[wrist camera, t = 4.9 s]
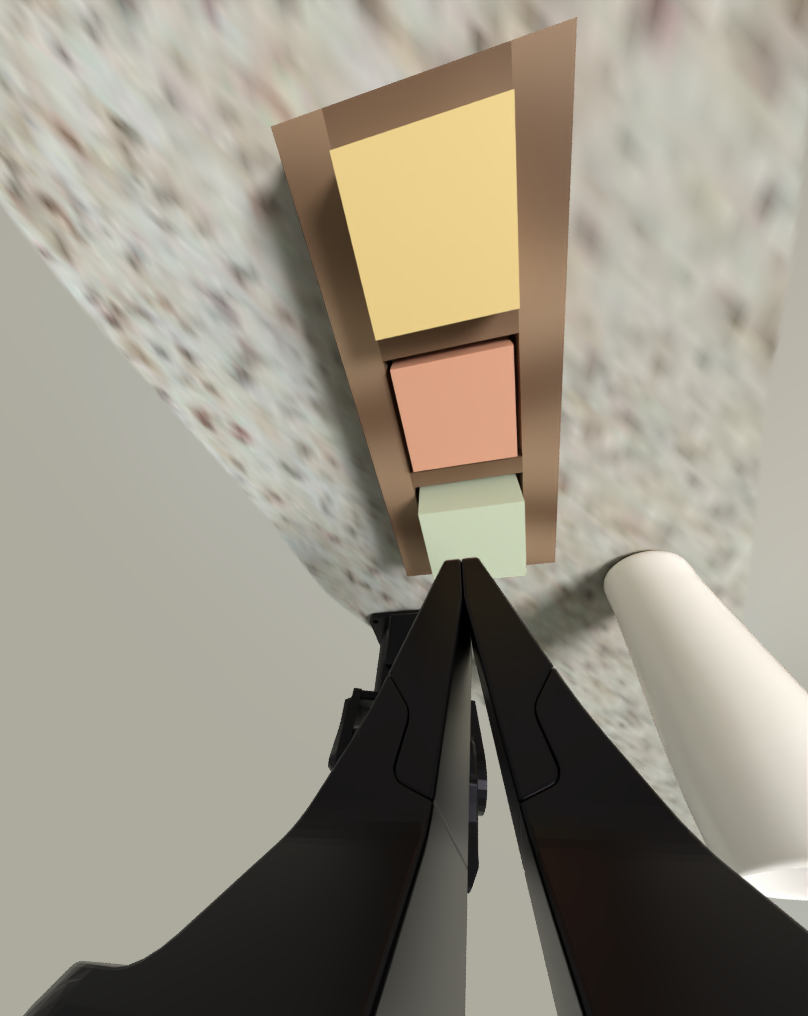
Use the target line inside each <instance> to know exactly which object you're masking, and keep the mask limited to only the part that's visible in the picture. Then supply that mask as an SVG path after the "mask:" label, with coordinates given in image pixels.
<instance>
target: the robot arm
mask: <svg viewBox="0 0 808 1016" xmlns="http://www.w3.org/2000/svg"><path fill="white" fill-rule="evenodd" d="M370 624H371V626H372V628H373V630H374V633H375V635H376V637H377V639H378V642H379V644H380V653H379V660H378V668H377V675H376V683H375V689H374V691H364V690H362V689H359V688H354V691H353V695H352V697H351V698H348V699H346V700H345V703H344V708H343V713H342V718H341V722H340V726H339V730H338V733H337V736H336V739H335V741H334V745H333V748H332V751H331V754H330V757H329V762H328V767H329V769H330V771H331V773H330V774H329V776H328V777H327V779H326V781H325V782H324V784H323V785H322V787H321V788H320V790H319V792H318V793H317V795H316V796H315V798H314V799H313V801H312V802H311V804H310V805H309V807H308V808H307V810H306V811H305V813H304V814H303V815H302V816H301V818H300V819H299V820H298V822H297V823H296V824H295V825H294V826H293V828H292V829H291V830H290V831H289V832H288V833H287V834H286V835H285V836H284V837H283V838H282V839H281V840H280V841H279V842H278V843H277V844H276V845H275V846H274V847H273V848H272V849H270V850H269V851H268V852H267V853H266V854H265V855H264V856H263V857H262V858H260V859H259V860H258V861H257V862H256V863H255V864H254V865H253V866H252V867H251V868H249V869H248V870H247V871H246V872H245V873H244V874H243V875H242V876H241V877H240V878H238V879H237V881H235V882H234V883H233V884H232V885H231V886H230V887H229V888H228V889H227V890H225V891H224V892H223V893H222V894H221V895H220V896H219V897H218V898H217V899H215V900H214V901H213V902H212V903H211V904H210V905H209V906H208V907H207V908H206V909H205V910H203V911H202V912H201V913H200V914H199V915H198V916H197V917H196V918H195V919H194V920H192V921H191V922H190V923H189V924H188V925H187V926H186V927H185V928H184V929H183V930H181V931H180V932H179V933H178V934H177V935H176V936H175V937H173V938H172V939H171V940H170V941H168V942H167V943H166V944H165V945H164V946H162V947H161V948H160V949H158V950H157V951H155V952H153V953H152V954H150V955H149V956H147V957H146V958H144V959H142V960H140V961H137V962H135V963H132V964H130V965H121V964H110V963H100V962H87V961H79V962H77V963H75V964H74V965H72V966H71V967H70V968H69V969H68V970H67V971H66V972H65V973H64V974H63V975H62V976H61V977H60V978H59V979H58V980H57V981H56V982H55V983H54V984H53V985H52V986H51V987H50V988H49V989H48V990H47V991H46V992H45V993H44V994H43V995H42V996H41V997H40V998H39V999H38V1000H37V1001H36V1002H35V1003H34V1004H33V1005H32V1006H31V1007H30V1008H29V1010H28V1011H27V1012H26V1013H25V1014H24V1015H23V1016H465V987H466V933H467V893H469V892H470V890H471V889H472V886H473V883H474V880H475V877H476V874H477V871H478V867H479V860H478V816H482V815H484V812H485V808H486V800H487V771H486V760H485V754H484V749H483V743H482V738H481V732H480V726H479V721H478V716H477V710H476V705H475V701H473V700H471V664H472V647H473V652H474V657H475V661H476V665H477V670H478V674H479V678H480V682H481V687H482V691H483V695H484V700H485V704H486V708H487V713H488V717H489V721H490V725H491V730H492V734H493V739H494V743H495V747H496V751H497V756H498V760H499V764H500V769H501V773H502V777H503V782H504V786H505V790H506V795H507V799H508V803H509V807H510V812H511V816H512V821H513V825H514V829H515V833H516V837H517V842H518V846H519V851H520V854H521V859H522V864H523V868H524V870H525V877H526V881H527V885H528V889H529V894H530V898H531V903H532V907H533V911H534V916H535V920H536V924H537V929H538V933H539V937H540V941H541V945H542V950H543V954H544V959H545V963H546V967H547V972H548V976H549V980H550V984H551V989H552V993H553V998H554V1002H555V1006H556V1010H557V1014H558V1016H808V931H807V930H806V929H805V928H804V927H803V926H801V925H800V924H799V923H798V922H797V921H795V920H794V919H793V918H792V917H790V916H789V915H788V914H786V913H785V912H784V911H783V910H782V909H781V908H779V907H778V906H777V905H776V904H774V903H773V902H772V901H771V900H770V899H768V898H767V897H766V896H765V895H763V894H762V893H761V892H760V891H759V890H757V889H756V888H755V887H754V886H752V885H751V884H750V883H749V882H748V881H746V880H745V879H744V878H743V877H741V876H740V875H739V874H738V873H737V872H735V871H734V870H733V869H732V868H730V867H729V866H728V865H727V864H726V863H724V862H723V861H722V860H721V859H720V858H718V857H717V856H716V855H715V854H714V853H713V852H712V851H711V850H709V849H708V848H707V847H706V846H705V845H704V844H703V843H702V842H701V841H700V840H699V839H698V838H697V837H696V836H695V835H694V834H693V833H692V832H691V831H690V830H689V829H688V828H687V827H686V826H685V825H684V824H683V823H682V822H681V820H680V819H679V818H678V817H677V816H676V815H675V814H674V813H673V812H672V811H671V809H670V808H669V807H668V806H667V805H666V804H665V803H664V802H663V800H662V799H661V798H660V797H659V796H658V795H657V793H656V792H655V791H654V790H653V789H652V788H651V786H650V785H649V784H648V783H647V782H646V781H645V780H644V778H643V777H642V776H641V775H640V774H639V773H638V771H637V770H636V769H635V768H634V767H633V766H632V765H631V763H630V762H629V761H628V760H627V759H626V758H625V756H624V755H623V754H622V753H621V752H620V751H619V749H618V748H617V747H616V746H615V745H614V744H613V743H612V741H611V740H610V739H609V738H608V737H607V736H606V734H605V733H604V732H603V731H602V730H601V728H600V727H599V726H598V725H597V723H596V722H595V721H594V720H593V719H592V717H591V716H590V715H589V714H588V712H587V711H586V710H585V709H584V707H583V706H582V705H581V703H580V702H579V701H578V699H577V698H576V697H575V695H574V694H573V693H572V691H571V690H570V688H569V687H568V686H567V684H566V683H565V682H564V680H563V679H562V677H561V676H560V674H559V673H558V671H557V670H556V669H555V668H553V665H552V663H551V662H550V660H549V659H548V657H547V656H546V654H545V653H544V652H543V650H542V649H541V647H540V646H539V644H538V643H537V641H536V640H535V639H534V637H533V636H532V634H531V633H530V631H529V630H528V628H527V627H526V626H525V624H524V623H523V621H522V620H521V618H520V617H519V616H518V614H517V613H516V611H515V610H514V608H513V607H512V605H511V604H510V603H509V601H508V600H507V598H506V597H505V595H504V594H503V592H502V591H501V590H500V588H499V587H498V585H497V584H496V582H495V581H494V579H493V578H492V577H491V575H490V574H489V572H488V571H487V569H486V568H485V566H484V565H483V564H482V562H481V561H480V559H479V558H477V557H472V558H463V559H462V562H461V560H460V559H452V560H446V561H444V563H443V564H442V566H441V568H440V570H439V572H438V574H437V576H436V578H435V580H434V582H433V584H432V586H431V589H430V591H429V593H428V595H427V597H426V599H425V601H424V603H423V605H422V607H421V609H420V610H419V611H406V612H393V613H380V614H373V615H371V617H370ZM471 641H472V645H471Z"/></svg>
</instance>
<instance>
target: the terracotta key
mask: <svg viewBox="0 0 808 1016" xmlns="http://www.w3.org/2000/svg"><path fill="white" fill-rule="evenodd" d="M390 372H391V377H392V381H393V385H394V390H395V394H396V398H397V403H398V407H399V411H400V415H401V420H402V424H403V428H404V433H405V437H406V441H407V446H408V450H409V454H410V459H411V463H412V467H413V471H414V472H417V471H424V470H431V469H437V468H444V467H450V466H457V465H464V464H470V463H477V462H484V461H490V460H497V459H504V458H510V457H517V430H516V402H515V374H514V346H513V344H512V342H511V341H510V340H509V338H508V337H507V335H506V336H501V337H496V338H492V339H487V340H482V341H477V342H473V343H468V344H463V345H459V346H454V347H449V348H444V349H440V350H435V351H430V352H425V353H421V354H416V355H411V356H407V357H402V358H397V359H394V360H393V363H392V366H391V369H390Z"/></svg>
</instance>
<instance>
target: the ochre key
mask: <svg viewBox="0 0 808 1016" xmlns="http://www.w3.org/2000/svg"><path fill="white" fill-rule="evenodd" d="M330 155H331V159H332V163H333V167H334V171H335V176H336V180H337V184H338V188H339V192H340V196H341V200H342V204H343V208H344V213H345V217H346V221H347V225H348V229H349V233H350V237H351V241H352V245H353V250H354V254H355V258H356V262H357V266H358V270H359V274H360V278H361V282H362V286H363V291H364V295H365V299H366V303H367V307H368V311H369V315H370V319H371V323H372V328H373V332H374V336H375V340H381V339H385V338H390V337H394V336H399V335H403V334H408V333H412V332H417V331H421V330H425V329H430V328H434V327H439V326H443V325H448V324H452V323H457V322H461V321H466V320H470V319H475V318H479V317H484V316H488V315H492V314H497V313H501V312H506V311H510V310H515V309H519V308H520V294H519V254H518V214H517V173H516V133H515V92H514V89H512V90H509V91H506V92H503V93H500V94H497V95H494V96H491V97H488V98H485V99H482V100H479V101H476V102H473V103H470V104H467V105H464V106H461V107H458V108H455V109H452V110H449V111H446V112H443V113H440V114H437V115H434V116H431V117H428V118H425V119H422V120H419V121H416V122H413V123H410V124H408V125H405V126H402V127H399V128H396V129H393V130H390V131H387V132H384V133H381V134H378V135H375V136H372V137H369V138H366V139H363V140H360V141H357V142H354V143H351V144H348V145H345V146H342V147H339V148H336V149H333V150H330Z"/></svg>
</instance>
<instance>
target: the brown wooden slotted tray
mask: <svg viewBox="0 0 808 1016" xmlns="http://www.w3.org/2000/svg"><path fill="white" fill-rule="evenodd" d="M576 27H577V17H576V18H573V19H570V20H567V21H565V22H562V23H559V24H556V25H553V26H551V27H548V28H545V29H542V30H540V31H537V32H534V33H531V34H528V35H526V36H523V37H520V38H517V39H514V40H512V41H509V42H506V43H503V44H500V45H498V46H495V47H492V48H489V49H486V50H484V51H481V52H478V53H475V54H473V55H470V56H467V57H464V58H461V59H459V60H456V61H453V62H450V63H447V64H445V65H442V66H439V67H436V68H433V69H431V70H428V71H425V72H422V73H419V74H417V75H414V76H411V77H408V78H406V79H403V80H400V81H397V82H394V83H392V84H389V85H386V86H383V87H380V88H378V89H375V90H372V91H369V92H366V93H364V94H361V95H358V96H355V97H352V98H350V99H347V100H344V101H341V102H338V103H336V104H333V105H330V106H327V107H325V108H322V109H319V110H316V111H313V112H311V113H308V114H305V115H302V116H299V117H297V118H294V119H291V120H288V121H285V122H283V123H280V124H277V125H274V126H271V128H272V132H273V135H274V138H275V142H276V145H277V148H278V152H279V155H280V158H281V161H282V165H283V168H284V171H285V175H286V178H287V181H288V184H289V188H290V191H291V194H292V198H293V201H294V204H295V208H296V211H297V214H298V217H299V221H300V224H301V227H302V231H303V234H304V237H305V240H306V244H307V247H308V250H309V254H310V257H311V260H312V264H313V267H314V270H315V273H316V277H317V280H318V283H319V287H320V290H321V293H322V296H323V300H324V303H325V306H326V310H327V313H328V316H329V320H330V323H331V326H332V329H333V333H334V336H335V339H336V343H337V346H338V349H339V352H340V356H341V359H342V362H343V366H344V369H345V372H346V376H347V379H348V382H349V385H350V389H351V392H352V395H353V399H354V402H355V405H356V408H357V412H358V415H359V418H360V422H361V425H362V428H363V432H364V435H365V438H366V441H367V445H368V448H369V451H370V455H371V458H372V461H373V464H374V468H375V471H376V474H377V478H378V481H379V484H380V488H381V491H382V494H383V497H384V501H385V504H386V507H387V511H388V514H389V517H390V520H391V524H392V527H393V530H394V534H395V537H396V540H397V544H398V547H399V550H400V553H401V557H402V560H403V563H404V567H405V570H406V573H407V576H416V575H426V574H432V570H431V566H430V562H429V557H428V553H427V549H426V545H425V541H424V537H423V533H422V529H421V525H420V521H419V516H418V509H419V494H420V487H423V486H430V485H437V484H444V483H451V482H458V481H465V480H472V479H479V478H486V477H493V476H500V475H507V474H514V473H515V474H516V477H517V480H518V483H519V486H520V489H521V492H522V495H523V498H524V501H525V537H526V565H530V564H540V563H551V562H555V547H556V522H557V497H558V472H559V448H560V423H561V398H562V373H563V349H564V324H565V299H566V274H567V250H568V225H569V200H570V175H571V151H572V126H573V101H574V76H575V52H576ZM512 89H514V92H515V133H516V173H517V214H518V254H519V294H520V308H519V309H515V310H510V311H506V312H501V313H497V314H492V315H488V316H484V317H479V318H475V319H470V320H466V321H461V322H457V323H452V324H448V325H443V326H439V327H434V328H430V329H425V330H421V331H417V332H412V333H408V334H403V335H399V336H394V337H390V338H385V339H381V340H375V336H374V332H373V328H372V323H371V319H370V315H369V311H368V307H367V303H366V299H365V295H364V291H363V286H362V282H361V278H360V274H359V270H358V266H357V262H356V258H355V254H354V250H353V245H352V241H351V237H350V233H349V229H348V225H347V221H346V217H345V213H344V208H343V204H342V200H341V196H340V192H339V188H338V184H337V180H336V176H335V171H334V167H333V163H332V159H331V155H330V150H333V149H336V148H339V147H342V146H345V145H348V144H351V143H354V142H357V141H360V140H363V139H366V138H369V137H372V136H375V135H378V134H381V133H384V132H387V131H390V130H393V129H396V128H399V127H402V126H405V125H408V124H410V123H413V122H416V121H419V120H422V119H425V118H428V117H431V116H434V115H437V114H440V113H443V112H446V111H449V110H452V109H455V108H458V107H461V106H464V105H467V104H470V103H473V102H476V101H479V100H482V99H485V98H488V97H491V96H494V95H497V94H500V93H503V92H506V91H509V90H512ZM506 335H509V338H510V341H511V342H512V344H513V346H514V374H515V402H516V430H517V457H510V458H504V459H497V460H490V461H484V462H477V463H470V464H464V465H457V466H450V467H444V468H437V469H431V470H424V471H417V472H414V471H413V467H412V463H411V459H410V454H409V450H408V446H407V441H406V437H405V433H404V428H403V424H402V420H401V415H400V411H399V407H398V403H397V398H396V394H395V390H394V385H393V381H392V377H391V372H390V369H391V366H392V359H397V358H402V357H407V356H411V355H416V354H421V353H425V352H430V351H435V350H440V349H444V348H449V347H454V346H459V345H463V344H468V343H473V342H477V341H482V340H487V339H492V338H496V337H501V336H506Z"/></svg>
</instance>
